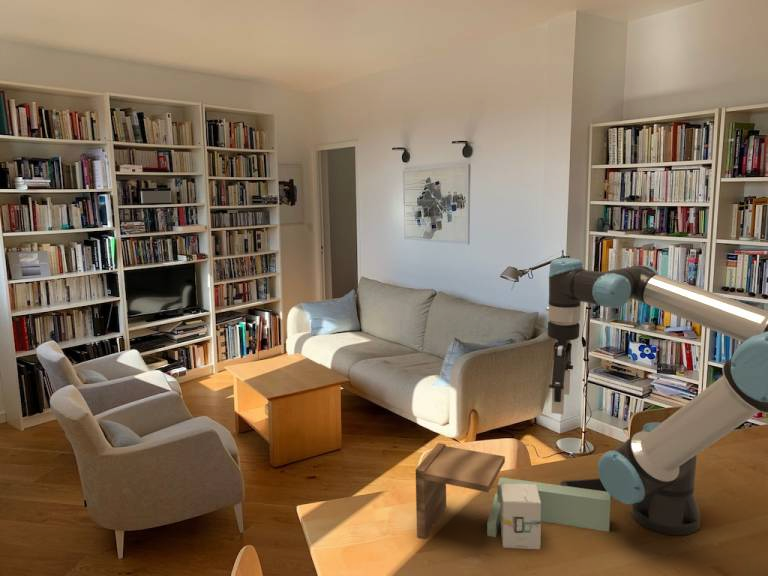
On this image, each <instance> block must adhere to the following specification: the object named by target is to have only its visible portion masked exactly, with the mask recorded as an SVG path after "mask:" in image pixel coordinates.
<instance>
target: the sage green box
mask: <svg viewBox="0 0 768 576" xmlns="http://www.w3.org/2000/svg"><path fill="white" fill-rule="evenodd" d="M500 483H518V484H536V486H537V490H538V494H539V497H540V501H541V522H545V523H549V524H550V523H551V524H556V525H563V526H569V527H576V528H583V529H589V530H595V531H600V532H608V533H609V532H610V523H611V522H610V519H611V518H610V517H611V495H610V494H609V493H608V492H605V491H598V490H591V489H583V488H576V487H568V486H562V485H561V484H552V483H544V482H539V481H538V482H537V481H530V480H524V479H523V480H522V479H515V478H508V477H499V479H498V482H497V492H495V495H494V497H493V500H492V505H491V508H490V511H489V515H488V518H487V522H486V524H487V526H486V528H487V529H486V531H487V533H486V535H487V536H488V537H493V538H496V537H497V534H498V529H499V528H500Z"/></svg>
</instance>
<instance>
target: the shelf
mask: <svg viewBox="0 0 768 576" xmlns="http://www.w3.org/2000/svg"><path fill="white" fill-rule="evenodd" d="M505 461H506V456H504V455H500V454H499V455H498V454H494V453H493V454H492V453H487V452H482V451H476V450H471V449H464V448H460V447H454V446H449V445H448V446H447V445H446V444H445V443H441V442H438V443H436V445H435V446H434V447H433V448H432V450H431V451H430V452H429V453H428V454H427V455H426V457H425V458H424V459H423V460H422V461H421V462H420V464H419V465H418V466H417V467H416V468H415V502H416V503H415V505H416V508H415V511H416V537H417V538H421V539H425V540H426V537H427V536H428V534H429V533H431V530H432V529H433V527H434V526H435V524H436V523H437V521H438V520H439V518H440V517H441V515H442V513H443V512H444V510H445V509H446V507H447V485H450V486H453V487H454V486H455V487H460V488H465V489H470V490H475V491H479V492H485V493H489V491H490V490H491V488H492V486H493V484H494V482H495V481H496V480H497V479H496V478H497V477H498V475H499V474H500V472H501V470H502V468H503V467H504V464H505Z"/></svg>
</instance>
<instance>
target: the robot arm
mask: <svg viewBox="0 0 768 576" xmlns="http://www.w3.org/2000/svg"><path fill="white" fill-rule="evenodd" d="M583 268H584V267H583V262H582V260H581V259H578V258H571V257H563V258H555V259H552V260H551V261H550V264H549V271H548V273H549V274H548V306H547V307H545V311H547V313H548V315H547V317H548V318H547V319H548V320H549V321H548V322H547V336H548V338H550V339H554V340H556V342H554V344H553V366H552V378H551V379H552V380H551V384H549V385H548V388H549V389H551V410H550V411H551V414H557V415H564V404H565V403H564V402H565V395H568V396H569V395H570V389H571V388H570V387H571V386H570V385H571V381H570V380H571V370H574V365H573V364H572V347H573V343H571V341H574V340H577V339H579V337H580V327H581V325H580V323H579V322H580V321H581V312H582V311H581V309H582V308H581V307H582V305H581V303H585V304H586V303H587V304H591V305H596V306H601V307H603V308H613V309H614V308H615V309H619V308H622V307H624V306H625V304H626V303H628V301H629V300H634V301H637V302H640V303H642V304H646V305H648V306H651V307H653V308H656V309H658V310H661V311H664V312H666V313H668V314H672V315H674V316H676V317H679V318H681V319H683V320H686V321H689V322H691V323H693V324H696V325H699V326H701V327H704V328H706V329H707V330H708V329H709V330H711V331H714V332H715V333H716V332H717V333H719V334H721V335H724V336H726V337H730V338H731V339H734V340H737V341H739V342H741V344H740V345H739V346H738V347H737V348H736V349H735V351H734V353H733V355H732V357H730V358H729V359H728V360H727V361H725V363H724V364H723V365H722V376H720V377H719V378H718V379H717V380H716V381H714V382H713V383H712V384H710V385H709V386H708V387H706V388H705V389H703V390H702V391H701V392H700V393H698V394H697V395H696V396H695V397H693V398H692V399H691V400H689V401H688V402H687V403H686V404H684V405H682V407H680V408H679V409H678V410H677V411H675V412H674V413H673V414H671V415H670V416H669V417H667V418H666V419H665V420H664V421H662V422H659V421H657V422H656V421H652V422H647V423H645V424H644V425H643V428H642V430H641V431H638V432H635V434H633V435H632V436H631V437H630V438H628V439H627V440H626V441H624V442H623V443H622V444H620V445H619V446H617V447H616V448H614V449H612V450H608V451H606V452H605V453H604V454H602V455H601V457H599V460H598V463H597V470H598V477H599V478H600V480H601V482H602V484H603V486H604V488H605V489H606V491H607V492H608V493H609V494H610V497H612V498H613V499H614V500H616V501H618V502H620V503H622V504H624V505H625V504H626V505H631V506H630V513H631V516H632V518H633V519H634V520H635V521H636V522H637V523H638V524H640V525H641V526H643V527H645V528H647V529H649V530H651V531H653V532H656V533H659V534H664V535H670V536H687V535H692V534H694V533H696V532H697V531H698V530H699V529H700V527H701V513H700V510H699V507H698V502H697V499H696V497H695V496H696V495H695V482H696V481H695V480H696V467H697V455H699V454H700V453H701V452H703V451H704V450H706V449H707V448H709V447H710V446H712V445H713V444H714V443H716V442H718V441H719V440H720V439H722V438H723V437H725V436H727V435H728V434H729V433H731V432H732V431H734V430H735V429H736V428H738V427H739V426H741V425H742V424H744V423H745V422H747V421H749V420H750V419H752V418H753V417H755V416H756V415H758V414H759V413H762V414H765V415H768V310H765V309H761V308H760V307H755V306H753V305H750V304H747V303H744V302H741V301H738V300H736V299H732V298H729V297H726V296H724V295H720V294H717V293H714V292H712V291H710V290H706V289H702V288H701V287H697V286H695V285H691V284H688V283H685V282H682V281H679V280H677V279H673V278H670V277H667V276H664V275H662V274H659V272H658V271H657V270H656V268H654V267H653V266H650V265H647V264H645V265H643V264H641V265H640V264H637V265H633V266H630V267H629V266H628V267H622V268H618V269H610V270H603V271H595V270H589V269H588V270H587V269H583Z"/></svg>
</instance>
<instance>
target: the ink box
mask: <svg viewBox="0 0 768 576" xmlns="http://www.w3.org/2000/svg"><path fill="white" fill-rule="evenodd" d="M541 523H542V521H541V501H540V497H539V494H538V490H537V486H536V484H518V483H500V523H499V528H500V535H501V543H502V548H505V549H506V548H507V549H524V550H540V549H541V541H542V539H541V537H542V536H541V534H542V533H541V532H542V530H541V528H542V525H541Z"/></svg>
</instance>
